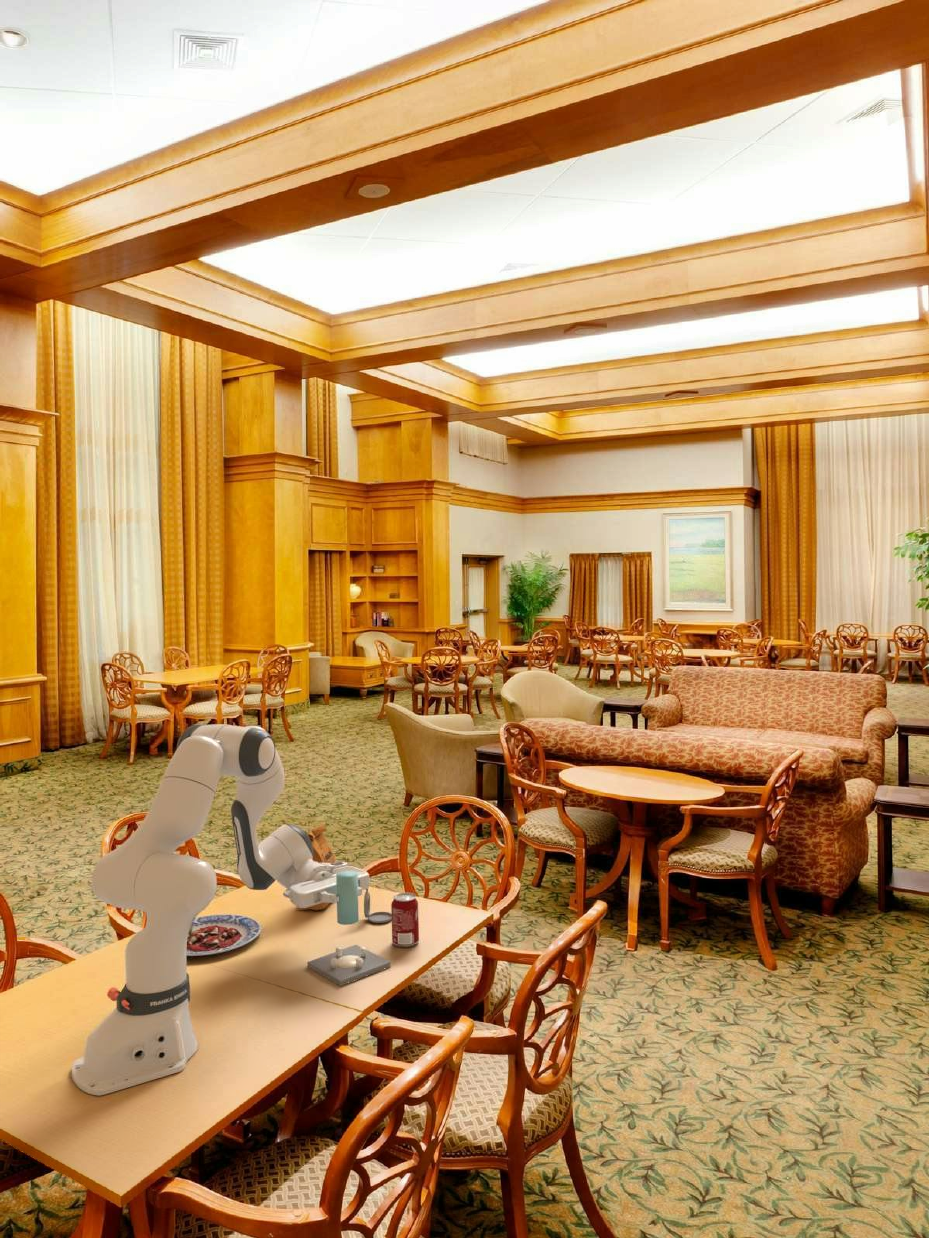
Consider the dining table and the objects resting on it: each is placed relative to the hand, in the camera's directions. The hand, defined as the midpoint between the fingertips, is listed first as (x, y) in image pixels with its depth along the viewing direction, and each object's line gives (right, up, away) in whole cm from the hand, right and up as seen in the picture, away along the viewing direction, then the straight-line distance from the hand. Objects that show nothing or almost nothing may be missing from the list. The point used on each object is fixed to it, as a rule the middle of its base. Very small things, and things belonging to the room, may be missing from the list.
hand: (348, 895), depth 198 cm
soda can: (+12, -17, +14) cm, 25 cm away
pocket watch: (+3, -17, +30) cm, 34 cm away
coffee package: (-15, -17, +42) cm, 48 cm away
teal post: (0, -6, 0) cm, 6 cm away
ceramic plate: (-38, -18, +18) cm, 46 cm away
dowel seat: (0, -17, +1) cm, 17 cm away
